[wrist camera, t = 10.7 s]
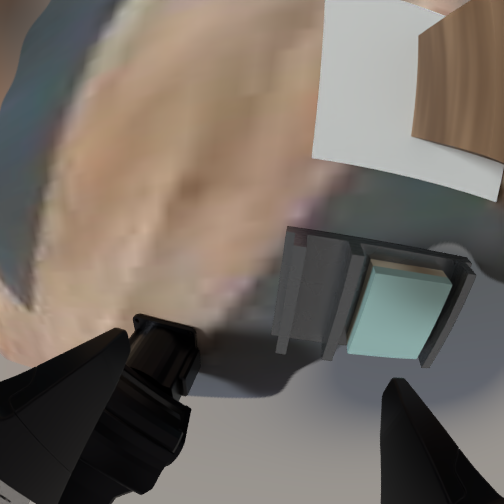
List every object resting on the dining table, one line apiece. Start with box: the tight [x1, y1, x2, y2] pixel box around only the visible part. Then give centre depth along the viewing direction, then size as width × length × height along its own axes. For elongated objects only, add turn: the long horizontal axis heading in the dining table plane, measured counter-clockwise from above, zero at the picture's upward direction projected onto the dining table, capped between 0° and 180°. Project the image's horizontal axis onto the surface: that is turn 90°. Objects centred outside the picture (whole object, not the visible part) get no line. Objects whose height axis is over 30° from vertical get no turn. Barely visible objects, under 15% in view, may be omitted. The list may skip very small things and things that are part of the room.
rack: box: [271, 226, 476, 368], centre depth 20 cm, size 14×9×3 cm, turn 86°
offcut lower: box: [346, 259, 448, 343], centre depth 20 cm, size 6×7×1 cm
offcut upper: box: [347, 266, 452, 359], centre depth 19 cm, size 6×7×1 cm
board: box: [312, 0, 504, 202], centre depth 14 cm, size 14×12×1 cm
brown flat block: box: [411, 0, 504, 164], centre depth 9 cm, size 2×7×9 cm, turn 176°
